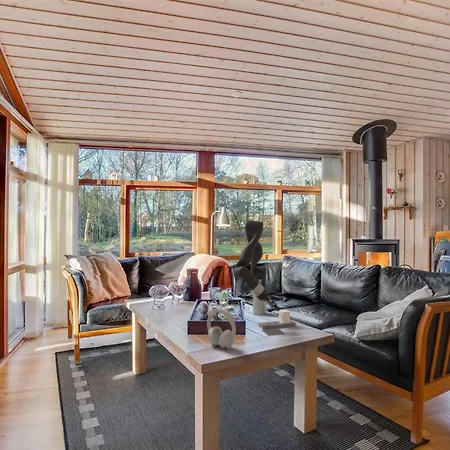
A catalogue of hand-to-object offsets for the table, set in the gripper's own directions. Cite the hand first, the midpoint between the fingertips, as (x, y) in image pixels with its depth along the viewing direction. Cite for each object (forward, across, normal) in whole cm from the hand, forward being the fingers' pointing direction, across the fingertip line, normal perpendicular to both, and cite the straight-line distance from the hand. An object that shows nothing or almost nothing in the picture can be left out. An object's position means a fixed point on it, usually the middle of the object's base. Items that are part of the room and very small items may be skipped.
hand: (276, 308), depth 224 cm
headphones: (-22, -24, +38) cm, 50 cm away
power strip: (+9, 0, +8) cm, 12 cm away
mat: (+4, -10, +13) cm, 17 cm away
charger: (+12, 0, +4) cm, 12 cm away
